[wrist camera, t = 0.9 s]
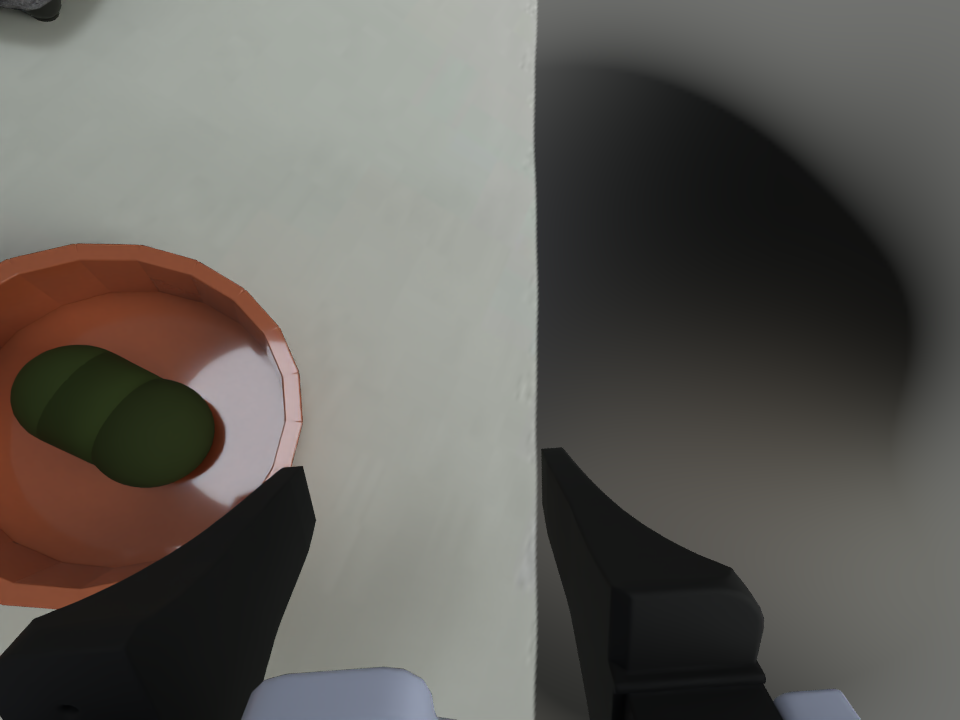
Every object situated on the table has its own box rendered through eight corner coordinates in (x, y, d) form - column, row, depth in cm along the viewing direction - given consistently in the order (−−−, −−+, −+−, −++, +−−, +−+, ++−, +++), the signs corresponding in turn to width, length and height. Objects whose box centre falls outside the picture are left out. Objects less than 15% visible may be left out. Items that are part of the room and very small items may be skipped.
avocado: (240, 416, 27) (231, 405, 22) (181, 503, 25) (158, 511, 21) (85, 335, 25) (41, 306, 21) (11, 423, 23) (-56, 413, 19)
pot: (16, 649, 22) (-52, 695, 18) (-110, 338, 23) (-206, 306, 18) (341, 490, 28) (352, 494, 24) (236, 247, 29) (227, 207, 24)
